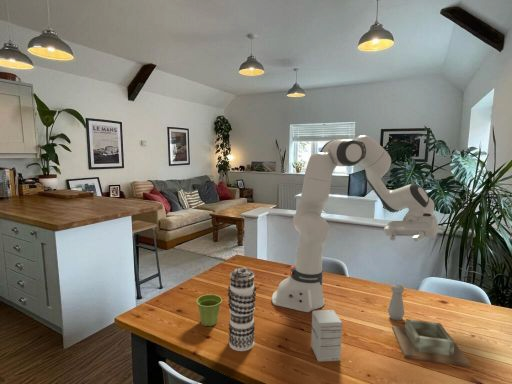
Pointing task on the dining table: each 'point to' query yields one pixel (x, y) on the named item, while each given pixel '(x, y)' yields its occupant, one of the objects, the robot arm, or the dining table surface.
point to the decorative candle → (241, 309)
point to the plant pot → (209, 309)
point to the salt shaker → (396, 303)
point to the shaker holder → (428, 343)
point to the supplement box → (326, 335)
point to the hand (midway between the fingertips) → (403, 239)
